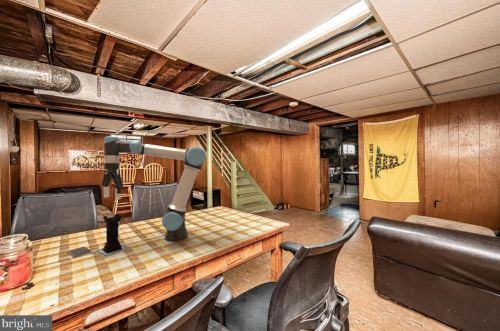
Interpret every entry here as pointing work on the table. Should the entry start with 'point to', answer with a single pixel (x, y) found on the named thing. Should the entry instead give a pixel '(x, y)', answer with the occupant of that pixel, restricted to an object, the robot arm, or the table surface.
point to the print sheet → (111, 252)
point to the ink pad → (79, 252)
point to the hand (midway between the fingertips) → (112, 198)
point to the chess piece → (112, 234)
